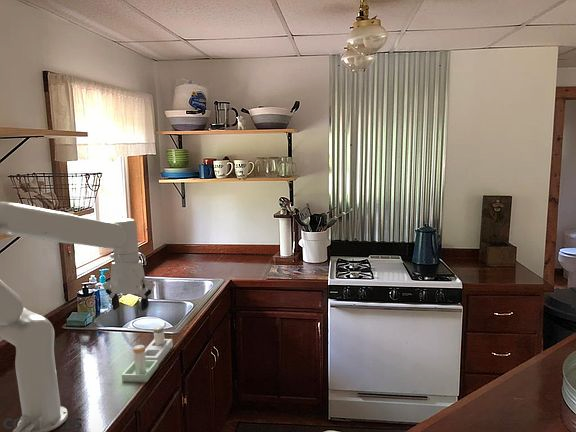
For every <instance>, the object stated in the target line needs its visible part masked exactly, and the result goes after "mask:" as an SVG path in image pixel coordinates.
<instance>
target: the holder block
mask: <svg viewBox="0 0 576 432" xmlns="http://www.w3.org/2000/svg"><path fill="white" fill-rule="evenodd" d="M173 345H174V343H173V338H165V345H164V346H155V340H154V339H152V341H151V342H150V343H149V344H148V345H147V346H146V347H145V358H146V360H158V366H159V365H160V363H162V361H163V360H164V359H165V357H166V356H167V354H169V352H170V351H171V350H172V348H174V347H173Z"/></svg>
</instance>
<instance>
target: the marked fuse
mask: <svg viewBox="0 0 576 432" xmlns="http://www.w3.org/2000/svg"><path fill="white" fill-rule="evenodd" d="M145 349H146V346H145V345H144V344H137V345H135V346H133V348H132V350H133V351H132V353H133V360H134V361H133V362H134V363H135V374H145V373H146V372H147V370H146V358H145Z"/></svg>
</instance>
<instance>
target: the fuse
mask: <svg viewBox="0 0 576 432" xmlns="http://www.w3.org/2000/svg"><path fill="white" fill-rule="evenodd" d="M152 329H153V340H155V346H164V345H165V339H166V338H165V327H164V326H163V325H157V326H154V327H153V328H152Z"/></svg>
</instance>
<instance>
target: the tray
mask: <svg viewBox="0 0 576 432" xmlns="http://www.w3.org/2000/svg"><path fill="white" fill-rule="evenodd" d="M158 368H159V365H158V360H146V370H147V372H146V373H145V374H135V363H134V361H132V363H131V364H130V365H128V367H127V368H126V369H125V370H124V371H123V372H122V374H121V380H122V383H148V382H149V380H150V378H151V377H152V376H153V375H154V373H156V371H157V370H158Z"/></svg>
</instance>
